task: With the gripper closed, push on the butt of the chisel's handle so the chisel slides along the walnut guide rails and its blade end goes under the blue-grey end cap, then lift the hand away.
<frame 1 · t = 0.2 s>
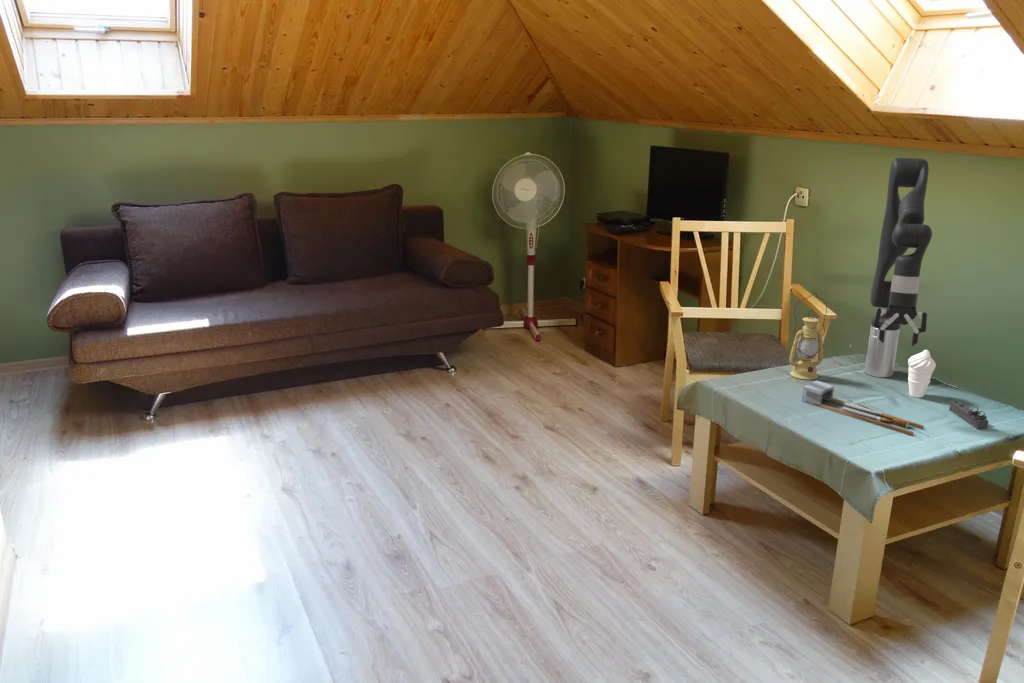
hand: (897, 343, 248), 23 cm above the table, tool pointing down, fingers open, 8 cm apart
holder: (858, 413, 254), on the table
lantern: (804, 376, 286), on the table
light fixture: (967, 420, 250), on the table
chisel: (874, 419, 251), on the table
soft serve ice cream cone: (916, 395, 269), on the table
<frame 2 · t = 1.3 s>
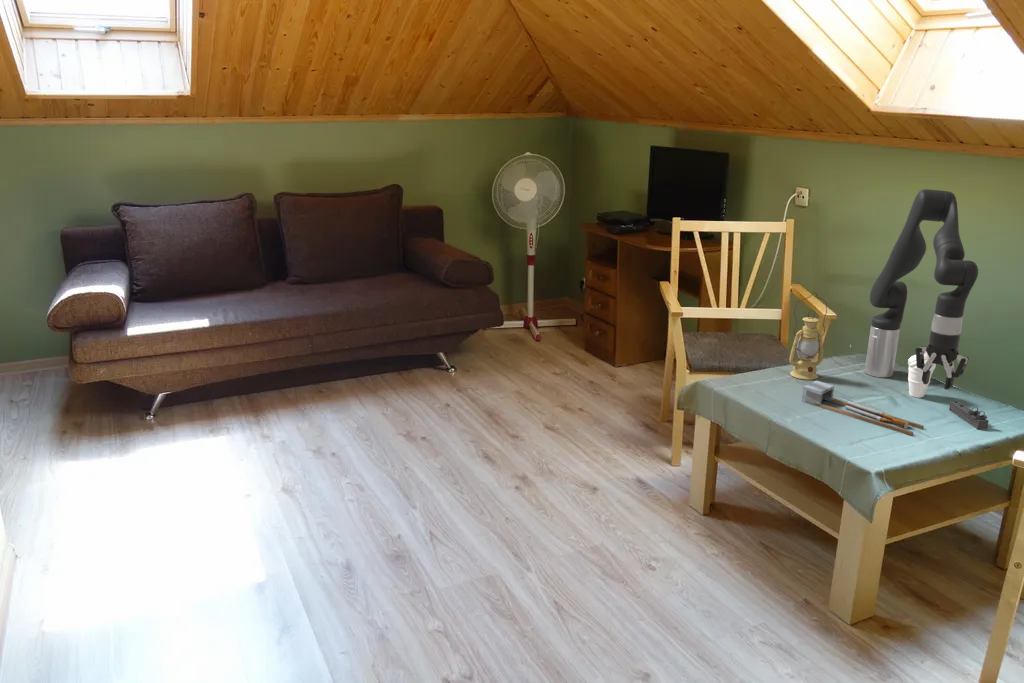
hand: (936, 385, 234), 16 cm above the table, tool pointing down, fingers open, 5 cm apart
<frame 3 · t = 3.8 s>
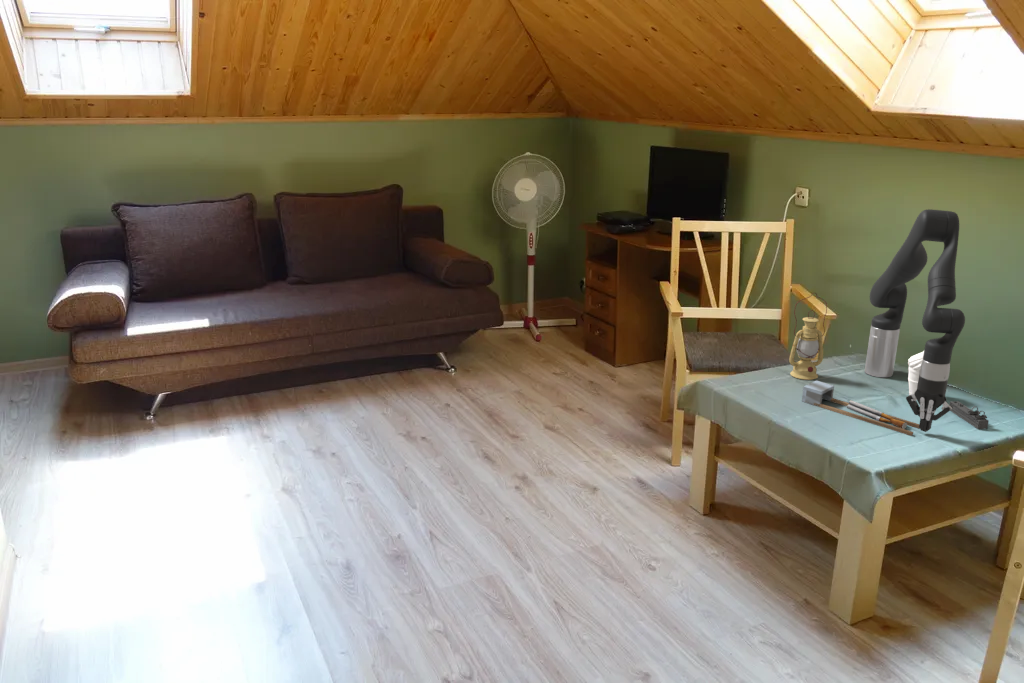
hand: (924, 430, 240), 1 cm above the table, tool pointing down, fingers closed
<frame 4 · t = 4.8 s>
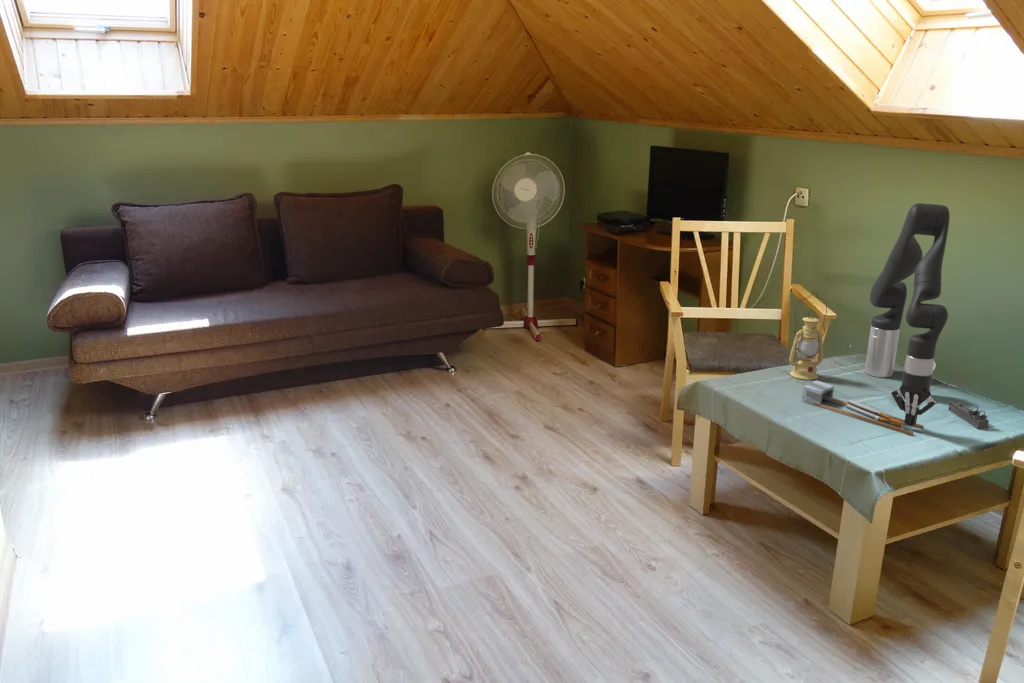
hand: (909, 425, 243), 1 cm above the table, tool pointing down, fingers closed
chisel: (874, 418, 252), on the table, touching gripper
everything else where it was.
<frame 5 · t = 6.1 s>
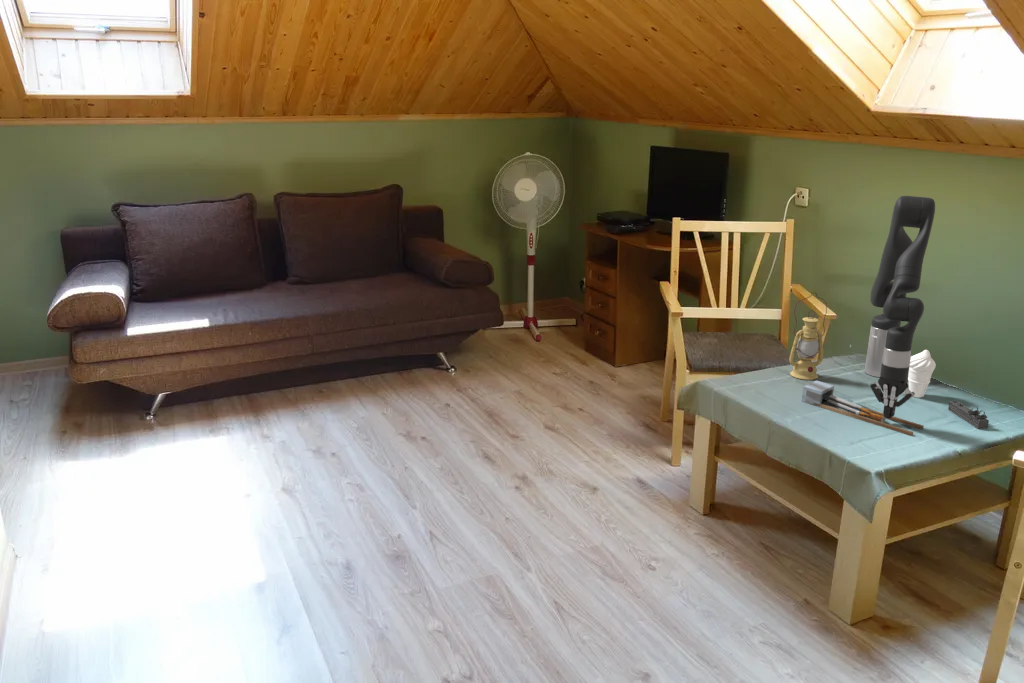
hand: (888, 417, 247), 2 cm above the table, tool pointing down, fingers closed
chisel: (855, 413, 256), on the table, touching gripper
everything else where it was.
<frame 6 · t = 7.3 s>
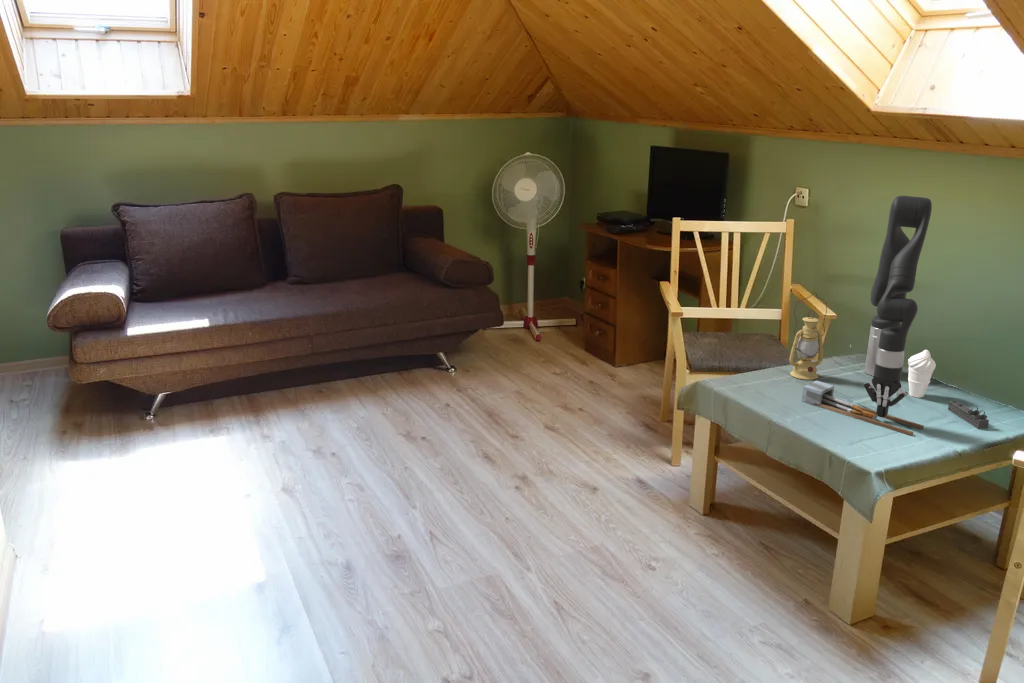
hand: (881, 416, 249), 1 cm above the table, tool pointing down, fingers closed
chisel: (846, 411, 257), on the table
everything else where it was.
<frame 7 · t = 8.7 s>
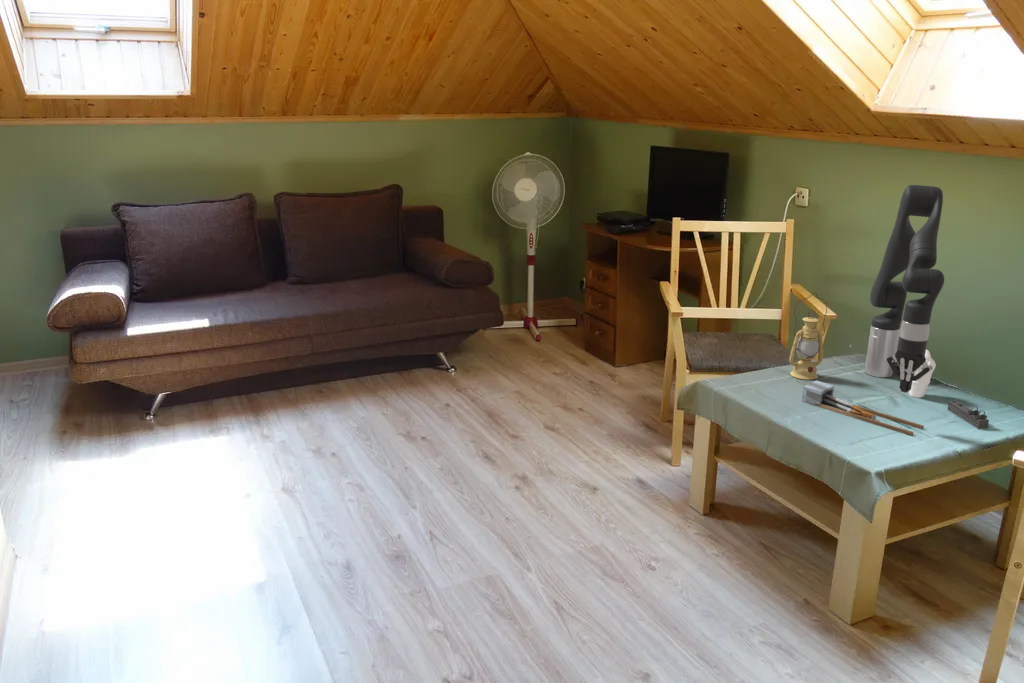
hand: (904, 391, 242), 11 cm above the table, tool pointing down, fingers closed
nothing on the table moved.
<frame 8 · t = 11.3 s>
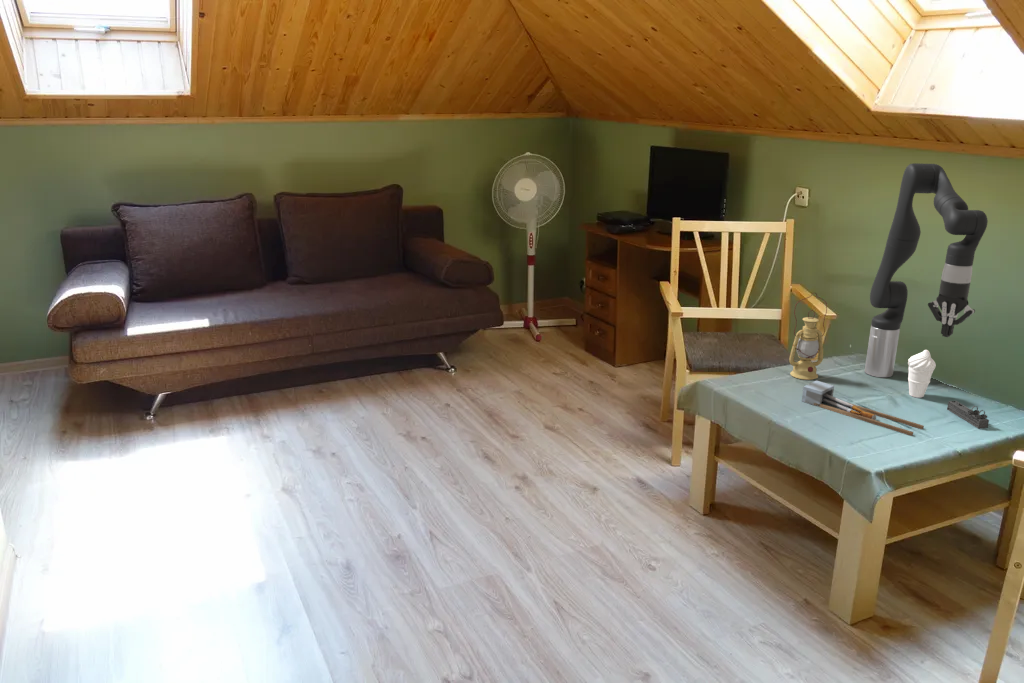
hand: (946, 336, 241), 27 cm above the table, tool pointing down, fingers closed
nothing on the table moved.
at the end: chisel 0.4 cm from the target spot on the holder, point -0.5 cm above the holder's base; chisel moved 8.9 cm from its start; the gripper is holding nothing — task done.
